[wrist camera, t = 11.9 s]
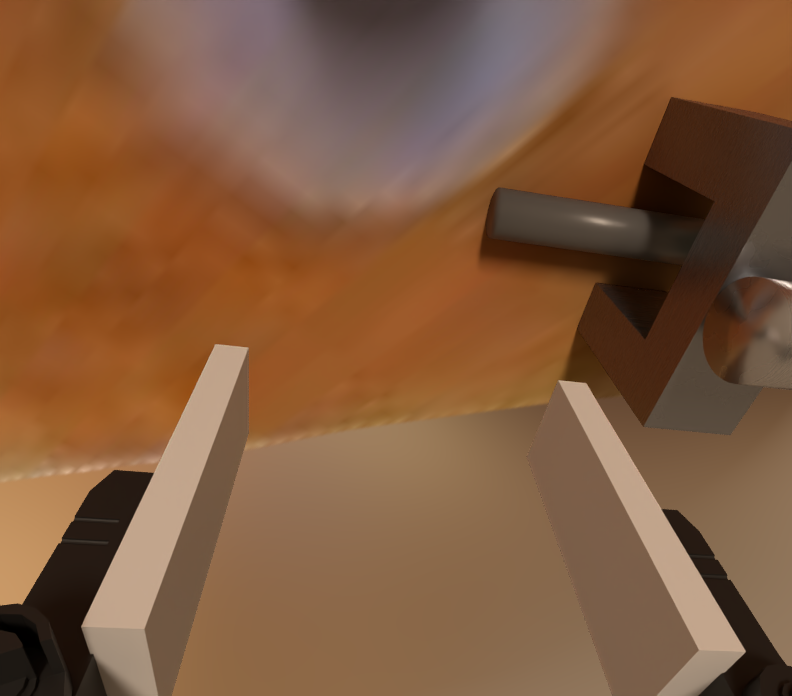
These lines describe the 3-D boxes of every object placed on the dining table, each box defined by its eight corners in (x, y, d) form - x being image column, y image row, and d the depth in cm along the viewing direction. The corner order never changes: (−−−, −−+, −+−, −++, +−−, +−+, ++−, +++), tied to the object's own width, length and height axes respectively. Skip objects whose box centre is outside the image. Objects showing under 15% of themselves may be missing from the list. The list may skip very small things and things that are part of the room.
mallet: (477, 249, 31) (496, 288, 27) (501, 157, 28) (527, 183, 24) (793, 293, 34) (860, 335, 29) (845, 213, 31) (928, 246, 26)
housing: (577, 328, 35) (688, 493, 23) (671, 96, 27) (916, 159, 15) (644, 336, 35) (787, 501, 23) (755, 112, 27) (1057, 184, 15)
